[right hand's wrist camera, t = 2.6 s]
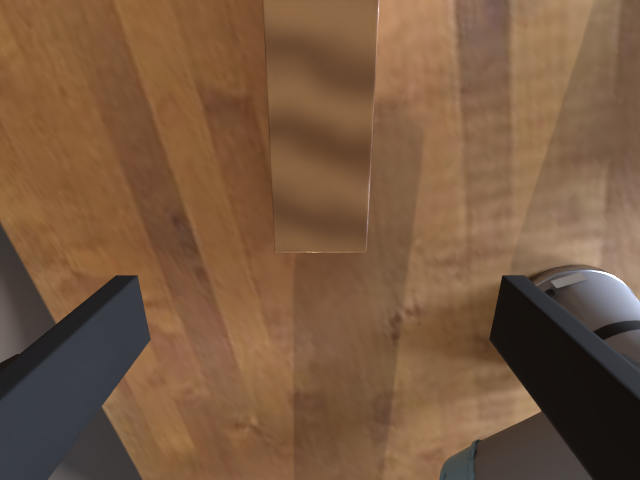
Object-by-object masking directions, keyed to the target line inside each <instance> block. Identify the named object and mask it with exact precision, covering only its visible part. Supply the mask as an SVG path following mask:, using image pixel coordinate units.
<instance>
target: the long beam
mask: <svg viewBox="0 0 640 480" xmlns="http://www.w3.org/2000/svg"><path fill="white" fill-rule="evenodd" d="M263 16H264V37H265V57H266V78H267V98H268V119H269V140H270V160H271V181H272V201H273V222H274V243H275V252H366V251H367V232H368V212H369V193H370V173H371V154H372V134H373V115H374V95H375V76H376V56H377V37H378V17H379V0H263Z"/></svg>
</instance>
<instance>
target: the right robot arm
mask: <svg viewBox="0 0 640 480" xmlns="http://www.w3.org/2000/svg"><path fill="white" fill-rule="evenodd" d="M150 340H151V339H150V334H149V329H148V325H147V320H146V315H145V310H144V305H143V300H142V295H141V290H140V285H139V281H138V276H137V275H116V276H115V277H114V278H112V279H111V280H110V281H109V282H108V283H106V284H105V285H104V286H103V287H101V288H100V289H99V290H98V291H97V292H95V293H94V294H93V295H92V296H90V297H89V298H88V299H87V300H85V301H84V302H83V303H82V304H81V305H79V306H78V307H77V308H76V309H74V310H73V311H72V312H71V313H70V314H68V315H67V316H66V317H65V318H63V319H62V320H61V321H60V322H59V323H57V324H56V325H55V326H54V327H52V328H51V329H50V330H49V331H47V332H46V333H45V334H44V335H43V336H41V337H40V338H39V339H38V340H36V341H35V342H34V343H33V344H32V345H30V346H29V347H28V348H27V349H25V350H24V351H23V352H22V353H21V354H16V355H14V356H12V357H11V358H9V359H7V360H5V361H3V362H1V363H0V480H48V478H49V477H50V476H51V474H52V473H53V472H54V470H55V469H56V467H57V466H58V465H59V463H60V462H61V461H62V459H63V458H64V457H65V455H66V454H67V453H68V451H69V450H70V448H71V447H72V446H73V444H74V443H75V442H76V440H77V439H78V438H79V436H80V435H81V433H82V432H83V431H84V429H85V428H86V427H87V425H88V424H89V423H90V421H91V420H92V418H93V417H94V416H95V414H96V413H97V412H98V410H99V409H100V408H101V406H102V405H103V404H104V402H105V401H106V399H107V398H108V397H109V395H110V394H111V393H112V391H113V390H114V389H115V387H116V386H117V385H118V383H119V382H120V380H121V379H122V378H123V376H124V375H125V374H126V372H127V371H128V370H129V368H130V367H131V366H132V364H133V363H134V361H135V360H136V359H137V357H138V356H139V355H140V353H141V352H142V351H143V349H144V348H145V346H146V345H147V344H148V342H149V341H150ZM489 340H490V341H491V342H492V344H493V345H494V346H495V348H496V349H497V351H498V352H499V353H500V355H501V356H502V357H503V359H504V360H505V361H506V363H507V364H508V366H509V367H510V368H511V370H512V371H513V372H514V374H515V375H516V376H517V378H518V379H519V380H520V382H521V383H522V385H523V386H524V387H525V389H526V390H527V391H528V393H529V394H530V395H531V397H532V398H533V399H534V401H535V402H536V404H537V405H538V406H539V408H540V409H541V410H542V412H540V413H538V414H536V415H534V416H532V417H530V418H528V419H526V420H524V421H522V422H520V423H517V424H515V425H513V426H511V427H509V428H507V429H505V430H503V431H500V432H498V433H496V434H494V435H492V436H490V437H488V438H486V439H484V440H479V439H478V440H475V441H474V442H473V443H472V445H471V446H469V447H468V448H466V449H464V450H462V451H461V452H459V453H457V454H455V455H453V456H452V457H450V458H449V459H447V461H446V462H445V463H444V465H443V467H442V469H441V473H440V480H640V301H639V300H638V299H637V298H636V297H635V295H634V293H633V292H632V291H631V290H630V289H629V288H628V287H627V286H626V285H625V284H624V283H623V282H622V281H621V280H619V279H618V278H616V277H614V276H612V275H611V274H609V273H607V272H605V271H603V270H601V269H598V268H596V267H592V266H586V265H568V266H562V267H557V268H554V269H550V270H548V271H545V272H543V273H541V274H539V275H537V276H535V277H533V278H532V279H530V280H529V279H528V278H526V277H525V276H524V275H503V276H502V281H501V285H500V290H499V295H498V300H497V305H496V310H495V315H494V320H493V325H492V329H491V334H490V339H489Z"/></svg>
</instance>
